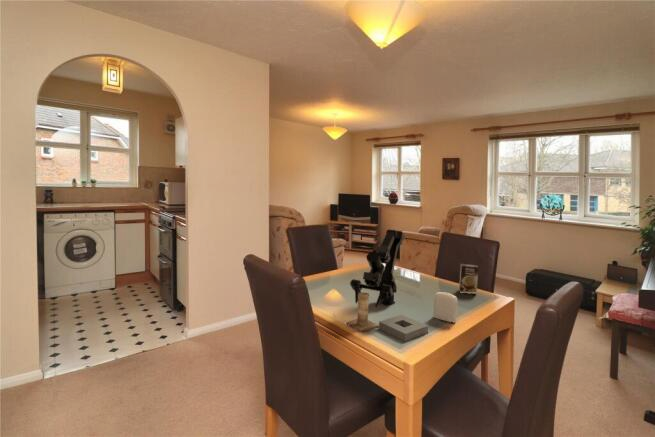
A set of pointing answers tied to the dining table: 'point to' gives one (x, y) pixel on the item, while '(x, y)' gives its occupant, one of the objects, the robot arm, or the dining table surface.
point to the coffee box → (468, 278)
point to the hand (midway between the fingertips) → (365, 305)
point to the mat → (362, 328)
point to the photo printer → (445, 306)
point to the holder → (403, 327)
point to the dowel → (363, 309)
